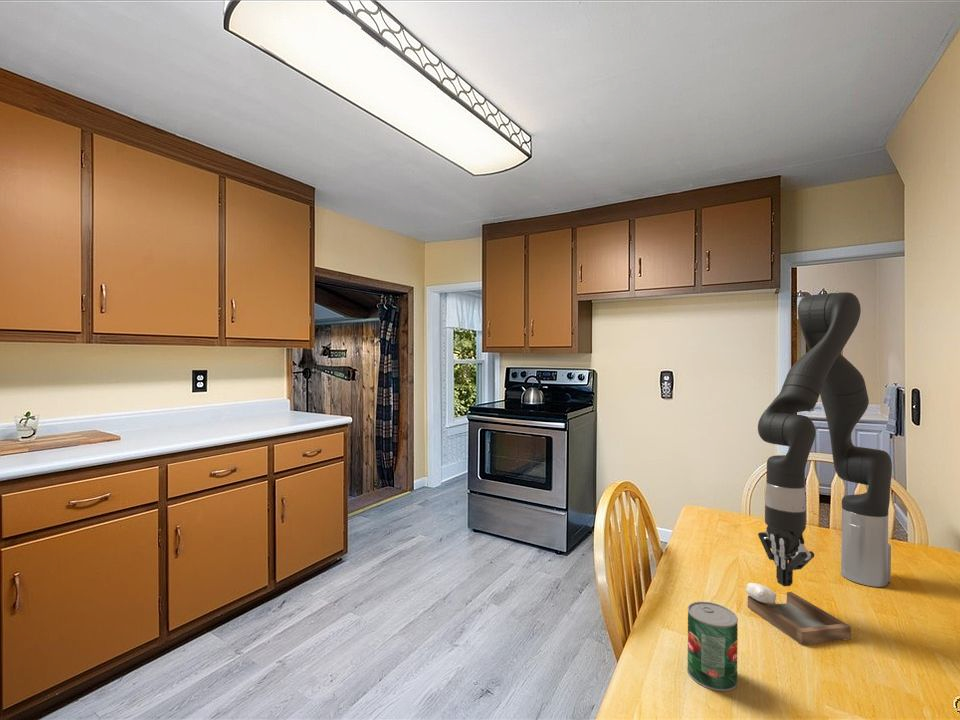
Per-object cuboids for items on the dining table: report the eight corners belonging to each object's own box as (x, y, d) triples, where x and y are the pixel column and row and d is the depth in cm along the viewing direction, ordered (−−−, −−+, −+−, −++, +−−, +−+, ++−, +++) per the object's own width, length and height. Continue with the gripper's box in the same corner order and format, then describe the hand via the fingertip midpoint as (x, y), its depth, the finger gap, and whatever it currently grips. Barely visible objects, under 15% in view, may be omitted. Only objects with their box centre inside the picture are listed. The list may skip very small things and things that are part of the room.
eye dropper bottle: (764, 610, 107) (765, 612, 98) (742, 588, 111) (741, 587, 101) (778, 598, 107) (781, 598, 97) (757, 576, 110) (757, 574, 101)
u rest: (791, 602, 108) (791, 591, 108) (850, 639, 94) (851, 626, 94) (747, 607, 106) (747, 596, 106) (801, 645, 92) (802, 632, 92)
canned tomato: (747, 690, 79) (748, 624, 79) (702, 692, 78) (703, 626, 78) (720, 660, 87) (720, 600, 87) (678, 662, 86) (679, 602, 86)
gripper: (827, 514, 97) (826, 598, 97) (775, 495, 110) (774, 569, 110) (796, 516, 96) (795, 601, 96) (747, 497, 109) (746, 572, 109)
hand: (784, 584), depth 103 cm, fingers closed
